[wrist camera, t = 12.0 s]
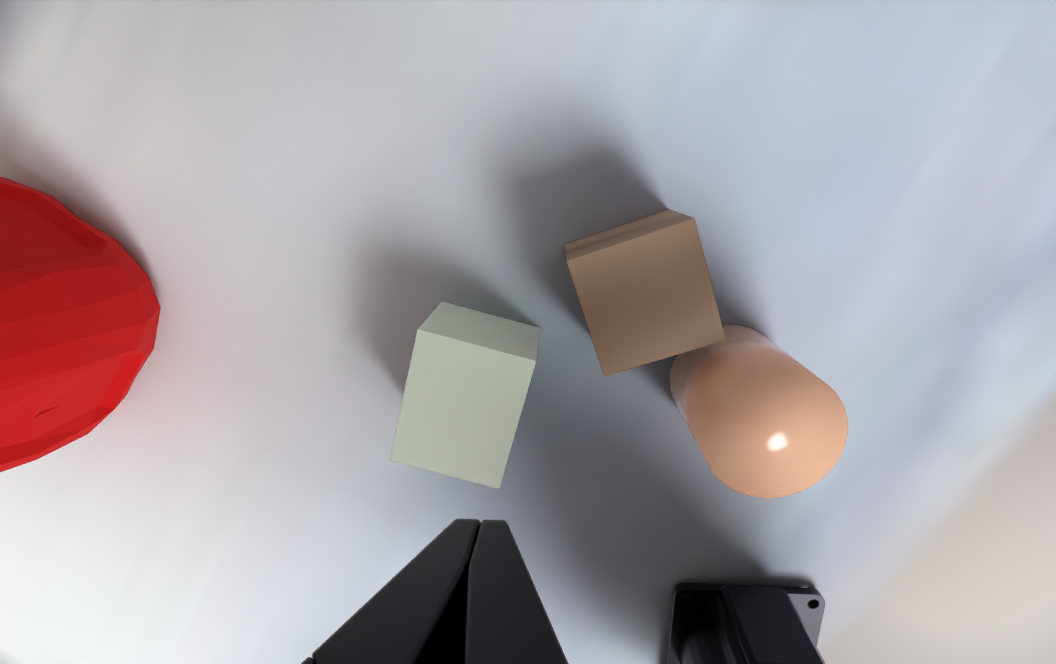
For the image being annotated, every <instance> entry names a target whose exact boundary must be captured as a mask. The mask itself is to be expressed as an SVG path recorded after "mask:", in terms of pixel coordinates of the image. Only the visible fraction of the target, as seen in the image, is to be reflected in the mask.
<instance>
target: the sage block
mask: <svg viewBox="0 0 1056 664" xmlns="http://www.w3.org/2000/svg"><path fill="white" fill-rule="evenodd" d="M539 330H540V328H539V327H535V326H532V325H528V324H524V323H521V322H517V321H513V320H510V319H506V318H502V317H499V316H495V315H491V314H487V313H484V312H480V311H476V310H473V309H469V308H465V307H462V306H458V305H454V304H451V303H447V302H443V301H441V303H440V304H439V305H438V306H437V307H436V308H435V310H434V311H433V312H432V313H431V314H430V315H429V316H428V318H427V319H426V320H425V321H424V322H423V323H422V325H421V326H420V327H419V328H418V329H417V334H416V338H415V343H414V348H413V352H412V357H411V362H410V366H409V371H408V376H407V380H406V385H405V390H404V394H403V399H402V404H401V408H400V413H399V418H398V422H397V427H396V432H395V436H394V441H393V446H392V450H391V455H390V461H393V462H397V463H401V464H405V465H409V466H413V467H416V468H420V469H424V470H428V471H432V472H436V473H439V474H443V475H447V476H451V477H455V478H459V479H462V480H466V481H470V482H474V483H478V484H482V485H485V486H489V487H493V488H497V489H499V488H500V485H501V481H502V478H503V475H504V471H505V468H506V464H507V461H508V457H509V454H510V450H511V447H512V443H513V440H514V436H515V433H516V430H517V426H518V423H519V419H520V416H521V412H522V409H523V405H524V402H525V398H526V395H527V392H528V388H529V385H530V381H531V378H532V374H533V371H534V367H535V364H536V359H537V349H538V340H539Z"/></svg>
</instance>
